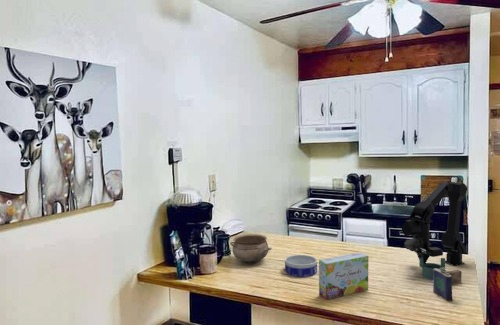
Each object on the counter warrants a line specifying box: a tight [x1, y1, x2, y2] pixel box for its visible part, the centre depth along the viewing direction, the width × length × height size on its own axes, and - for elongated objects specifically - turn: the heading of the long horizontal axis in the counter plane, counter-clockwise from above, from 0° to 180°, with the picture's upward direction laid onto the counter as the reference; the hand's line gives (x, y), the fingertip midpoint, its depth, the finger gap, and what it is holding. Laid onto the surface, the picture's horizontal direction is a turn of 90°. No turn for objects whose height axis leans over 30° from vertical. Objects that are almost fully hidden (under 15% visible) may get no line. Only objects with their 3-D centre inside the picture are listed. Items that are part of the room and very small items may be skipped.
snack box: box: [318, 252, 369, 301], centre depth 157 cm, size 21×6×15 cm, turn 114°
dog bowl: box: [284, 254, 318, 278], centre depth 183 cm, size 15×15×6 cm
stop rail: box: [446, 269, 462, 285], centre depth 163 cm, size 12×2×5 cm, turn 107°
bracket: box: [418, 257, 446, 281], centre depth 171 cm, size 9×9×9 cm
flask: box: [432, 267, 453, 302], centre depth 151 cm, size 10×3×12 cm, turn 8°
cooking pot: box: [229, 233, 273, 265], centre depth 200 cm, size 25×19×12 cm
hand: (422, 265), depth 177 cm, fingers closed
